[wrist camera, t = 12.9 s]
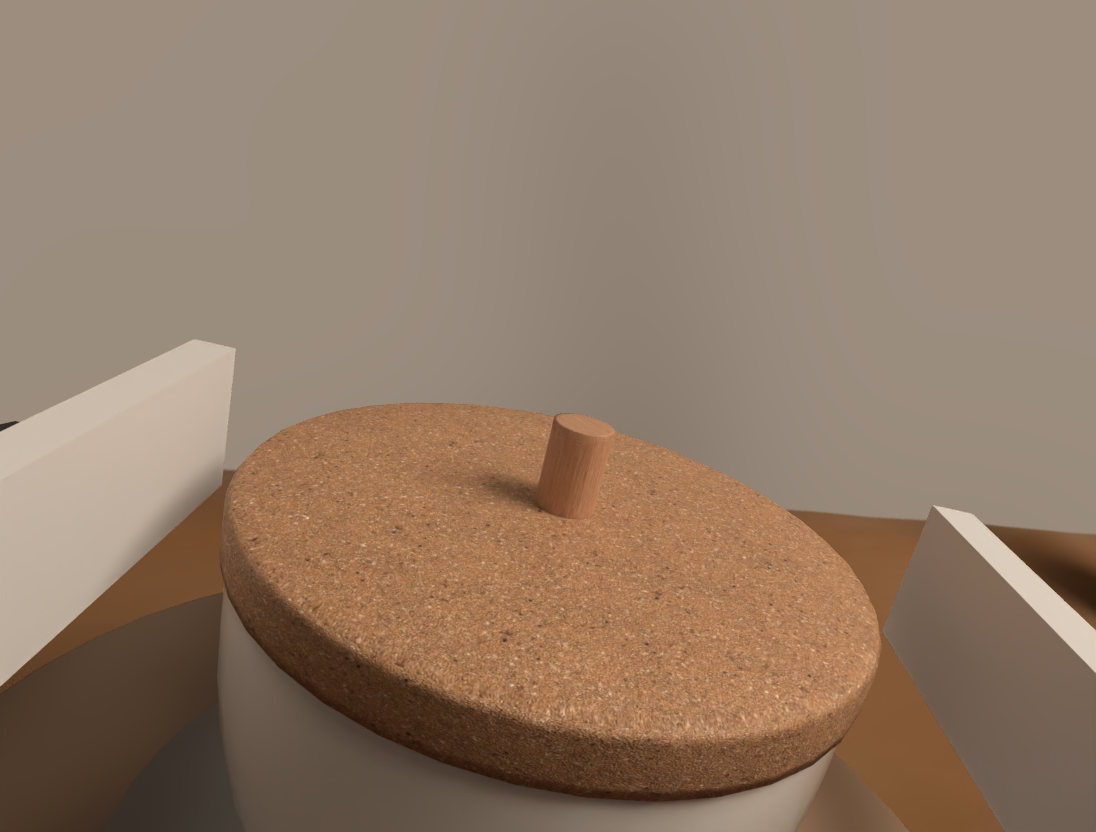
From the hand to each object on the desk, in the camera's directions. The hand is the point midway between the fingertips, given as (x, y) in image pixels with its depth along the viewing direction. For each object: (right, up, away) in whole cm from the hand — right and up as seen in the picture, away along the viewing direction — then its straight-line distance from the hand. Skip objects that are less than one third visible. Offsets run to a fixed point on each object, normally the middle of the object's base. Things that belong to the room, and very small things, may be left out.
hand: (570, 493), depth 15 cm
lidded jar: (-2, -8, +1) cm, 8 cm away
